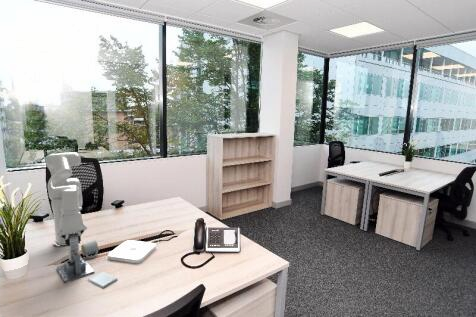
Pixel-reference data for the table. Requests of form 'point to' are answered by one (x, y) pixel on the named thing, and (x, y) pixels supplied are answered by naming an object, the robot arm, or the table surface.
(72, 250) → the column
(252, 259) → the table surface
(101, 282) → the hard drive
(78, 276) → the stand
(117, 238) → the table surface
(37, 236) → the table surface
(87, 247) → the ceramic mug
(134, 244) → the computer
